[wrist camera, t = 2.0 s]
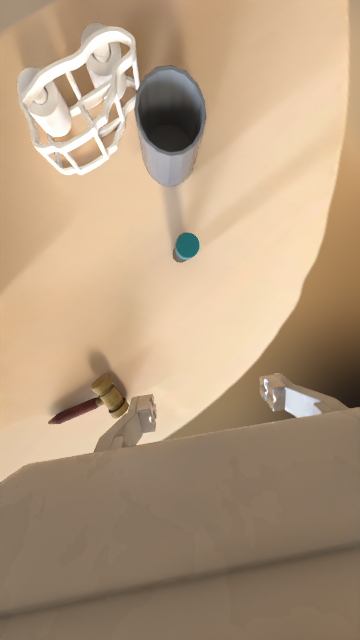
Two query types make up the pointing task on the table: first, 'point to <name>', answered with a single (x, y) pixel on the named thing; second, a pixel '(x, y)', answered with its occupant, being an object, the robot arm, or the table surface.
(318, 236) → the table surface
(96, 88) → the white cage
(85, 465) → the robot arm
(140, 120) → the pen pot
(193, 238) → the marker pen
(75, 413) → the gavel
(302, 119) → the table surface
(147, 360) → the table surface
